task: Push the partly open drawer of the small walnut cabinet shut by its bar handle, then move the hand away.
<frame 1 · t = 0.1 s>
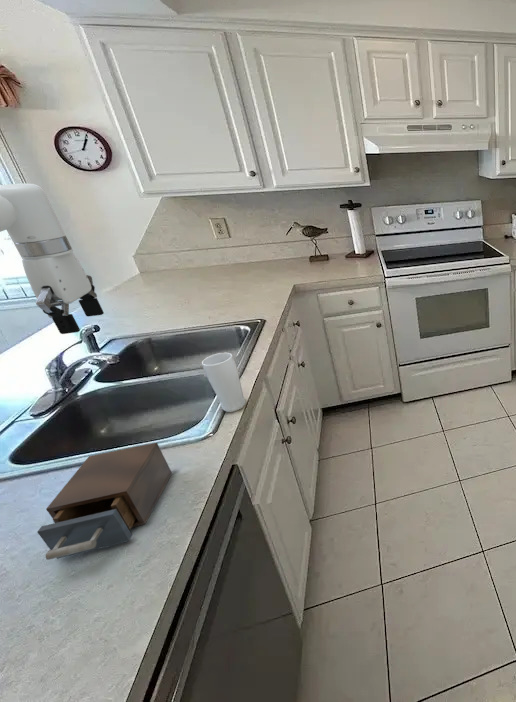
hand: (83, 323, 91), 29 cm above the worktop, tool pointing down, fingers open, 9 cm apart
drawer: (98, 516, 74), point 4 cm above the worktop, slide at 3.0 cm
cabinet: (125, 504, 82), on the worktop
drinking glass: (235, 407, 111), on the worktop
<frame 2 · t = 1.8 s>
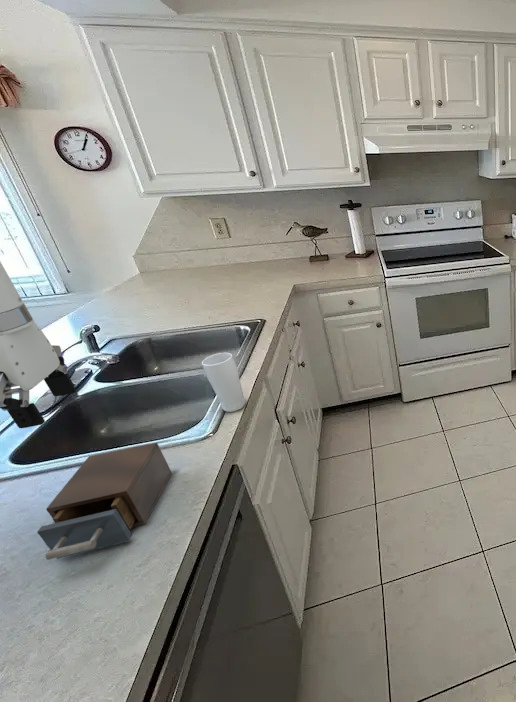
hand: (50, 408, 72), 23 cm above the worktop, tool pointing down, fingers open, 9 cm apart
nothing on the worktop moved.
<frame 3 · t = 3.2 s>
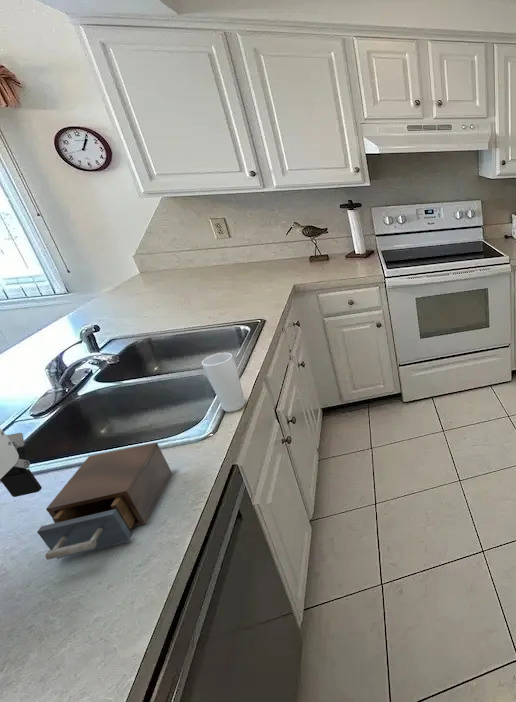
hand: (5, 518, 57), 18 cm above the worktop, tool pointing down, fingers open, 9 cm apart
nothing on the worktop moved.
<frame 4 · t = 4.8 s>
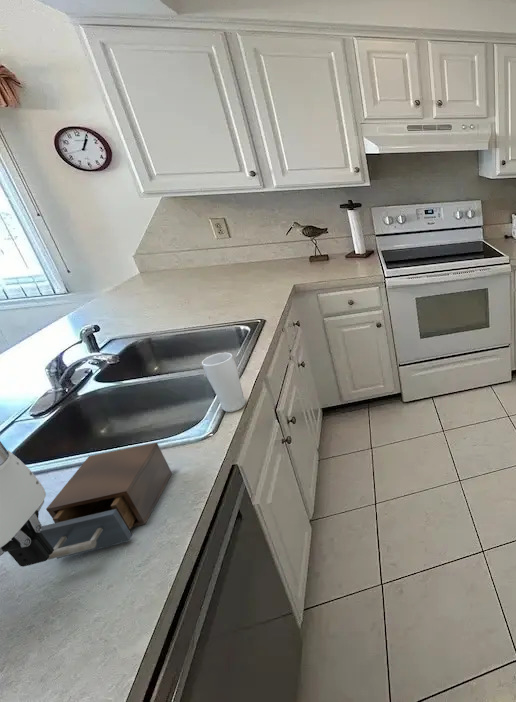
hand: (38, 558, 61), 10 cm above the worktop, tool pointing down, fingers closed
nothing on the worktop moved.
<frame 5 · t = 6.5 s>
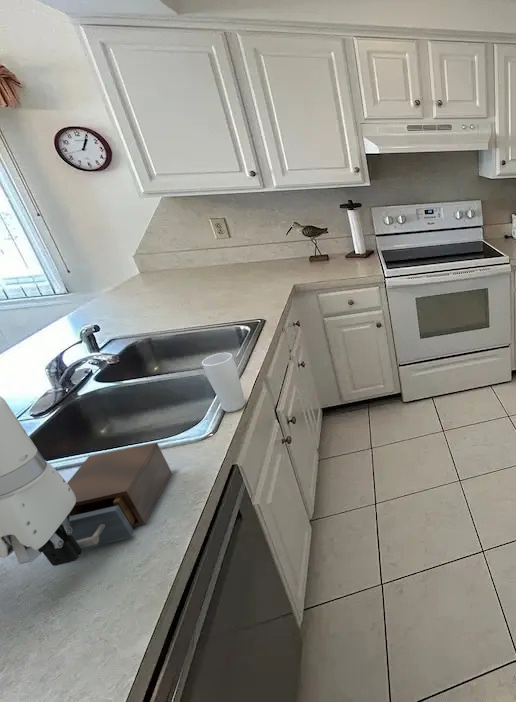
hand: (68, 558, 66), 5 cm above the worktop, tool pointing down, fingers closed
drawer: (100, 512, 75), point 4 cm above the worktop, slide at 2.2 cm, touching gripper
everything else where it was.
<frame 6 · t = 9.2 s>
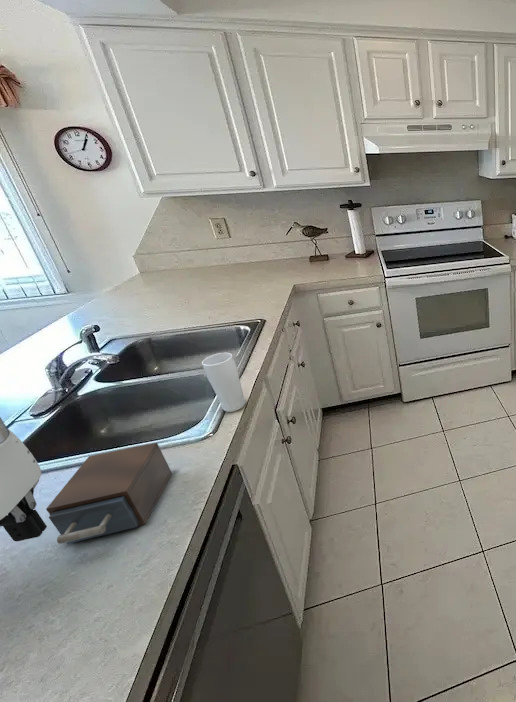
hand: (31, 534, 63), 11 cm above the worktop, tool pointing down, fingers closed
drawer: (106, 503, 77), point 4 cm above the worktop, slide at 0.0 cm, touching cabinet
everything else where it was.
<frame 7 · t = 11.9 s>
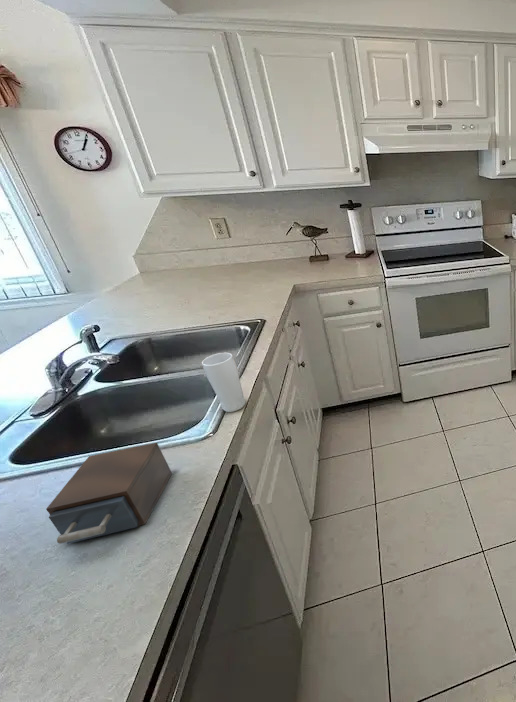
nothing on the worktop moved.
at the end: drawer slide at 0.0 cm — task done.
